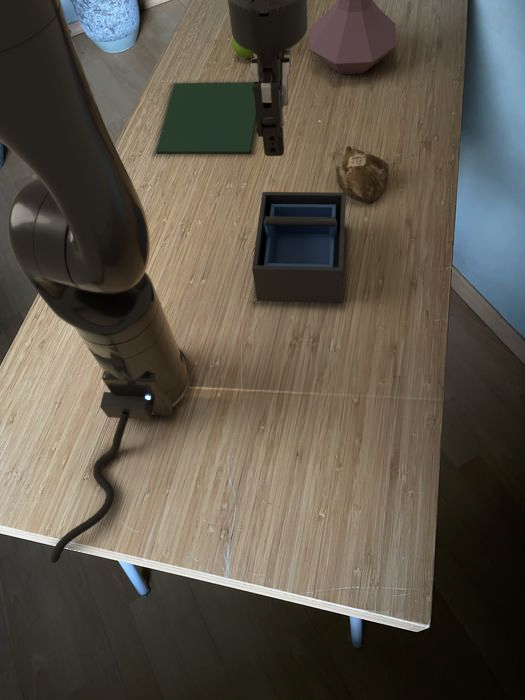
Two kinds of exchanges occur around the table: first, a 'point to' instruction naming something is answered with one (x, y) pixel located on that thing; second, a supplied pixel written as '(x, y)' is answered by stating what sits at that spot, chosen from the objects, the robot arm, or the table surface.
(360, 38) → the flask
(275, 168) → the table surface
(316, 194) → the charcoal bin
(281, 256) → the blue bin
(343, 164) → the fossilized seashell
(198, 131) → the green mat
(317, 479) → the table surface
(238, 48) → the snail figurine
